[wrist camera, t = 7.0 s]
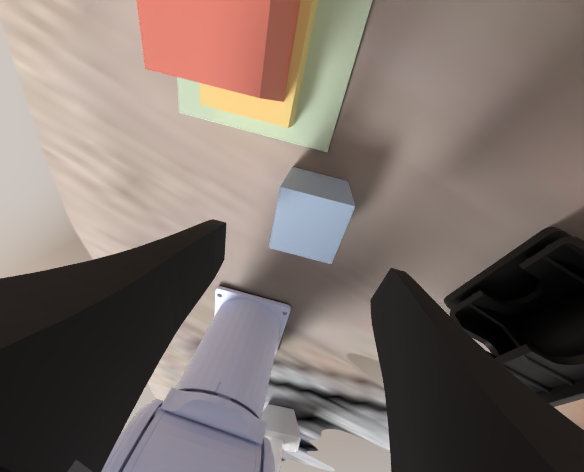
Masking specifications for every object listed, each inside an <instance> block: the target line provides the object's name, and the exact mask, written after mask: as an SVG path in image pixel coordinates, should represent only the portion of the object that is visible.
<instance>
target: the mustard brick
mask: <svg viewBox="0 0 584 472" xmlns="http://www.w3.org/2000/svg"><path fill="white" fill-rule="evenodd" d="M318 1H319V0H301V2H300V8H299V14H298V20H297V26H296V32H295V38H294V44H293V50H292V56H291V62H290V68H289V74H288V80H287V87H286V93H285V99H284V102H281V101H274V100H267V99H261V98H256V97H253V96H249V95H245V94H241V93H237V92H233V91H229V90H225V89H222V88H218V87H214V86H210V85H206V84H202V83H200V105H204V106H207V107H211V108H215V109H219V110H222V111H226V112H230V113H234V114H237V115H241V116H245V117H249V118H252V119H256V120H260V121H264V122H267V123H271V124H275V125H279V126H282V127H286V128H289V127H291V126H293V125H294V120H295V115H296V110H297V105H298V100H299V95H300V90H301V85H302V80H303V75H304V70H305V65H306V60H307V55H308V51H309V46H310V41H311V36H312V31H313V26H314V21H315V16H316V11H317V6H318Z"/></svg>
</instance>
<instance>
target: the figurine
mask: <svg viewBox="0 0 584 472" xmlns="http://www.w3.org/2000/svg"><path fill="white" fill-rule="evenodd" d="M261 420H262V421H265V422H266V428H265V433H264V437H266V438H268V439H269V441H270V443H271V447H272V452H273V455H274V460H275V472H280V465H281V458H282V450H286V451H291V452H295V453H297V451H298V447H299V443H300V439H301V436H300V432H299V428H298V424H297V420H296V416H295V412H294V409H289V408H285V407H280V406H275V405H271V404H268V405H267V407H266V408H265V410H264V411H263V413H262V416H261Z"/></svg>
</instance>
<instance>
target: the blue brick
mask: <svg viewBox="0 0 584 472" xmlns="http://www.w3.org/2000/svg"><path fill="white" fill-rule="evenodd" d="M354 208H355V204H354V200H353V196H352V193H351V189H350V185H349V182H348V181H345V180H342V179H338V178H334V177H330V176H326V175H323V174H319V173H315V172H311V171H307V170H303V169H300V168H296V167H292V169H291V170H290V172H289V174H288V175H287V177H286V179H285V180H284V182H283V183H282V185H281V187H280V192H279V197H278V202H277V207H276V213H275V218H274V223H273V228H272V233H271V239H270V244H269V248H272V249H275V250H279V251H283V252H287V253H290V254H294V255H298V256H302V257H305V258H309V259H313V260H317V261H320V262H324V263H328V264H332V261H333V259H334V257H335V254H336V252H337V249H338V247H339V245H340V242H341V240H342V237H343V235H344V233H345V230H346V228H347V225H348V223H349V220H350V218H351V216H352V213H353V211H354Z"/></svg>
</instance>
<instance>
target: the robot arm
mask: <svg viewBox="0 0 584 472" xmlns="http://www.w3.org/2000/svg"><path fill="white" fill-rule="evenodd" d="M225 238H226V223H225V222H221V221H217V220H214V219H212V220H209V221H206V222H203V223H201V224H198V225H196V226H193V227H191V228H188V229H186V230H183V231H181V232H178V233H176V234H173V235H171V236H168V237H165V238H162V239H160V240H157V241H154V242H151V243H148V244H145V245H142V246H139V247H137V248H133V249H130V250H127V251H124V252H120V253H117V254H113V255H109V256H106V257H102V258H98V259H94V260H91V261H86V262H82V263H77V264H73V265H68V266H64V267H59V268H54V269H50V270H46V271H40V272H35V273H30V274H24V275H19V276H13V277H7V278H1V279H0V472H275V460H274V455H273V452H272V447H271V443H270V441H269V439H268V438H266V437H264V433H265V428H266V422H265V421H262V420H261V416H262V411H263V406H264V402H265V397H266V393H267V388H268V384H269V379H270V375H271V370H272V365H273V361H274V356H275V355H276V352H277V349H278V346H279V343H280V341H281V338H282V335H283V332H284V329H285V326H286V323H287V320H288V317H289V314H290V311H291V307H290V306H289V305H287V304H284V303H280V302H276V301H273V300H269V299H265V298H262V297H258V296H254V295H251V294H247V293H244V292H240V291H236V290H233V289H229V288H225V287H222V286H218V287H217V288H216V290H215V314H214V319H213V320H212V322H211V324H210V326H209V328H208V330H207V331H206V333H205V335H204V337H203V339H202V341H201V342H200V344H199V346H198V348H197V350H196V351H195V353H194V355H193V357H192V359H191V361H190V362H189V364H188V366H187V368H186V370H185V371H184V373H183V375H182V377H181V379H180V381H179V382H178V384H177V386H176V388H175V389H174V388H171V390H170V391H169V393H168V395H167V397H166V398H165V400H164V402H163V401H162V400H159V399H155V400H153V401H152V402H151V403H149V404H147V405H145V406H144V407H142V408H141V409H140V410H139V411H138V412H137V413H136V415H135V416H134V417H133V418H132V420H131V421H130V422H129V424H128V425H127V427H126V428H125V429H124V431H123V432H122V434H121V431H122V430H123V428H124V426H125V423H126V422H127V420H128V418H129V416H130V414H131V412H132V410H133V409H134V407H135V405H136V403H137V401H138V399H139V397H140V395H141V394H142V392H143V389H144V388H145V386H146V384H147V382H148V381H149V379H150V377H151V375H152V374H153V372H154V370H155V368H156V366H157V365H158V363H159V361H160V359H161V357H162V356H163V354H164V352H165V351H166V349H167V347H168V346H169V344H170V342H171V340H172V339H173V337H174V335H175V334H176V332H177V331H178V329H179V327H180V326H181V324H182V323H183V322H184V320H185V319H186V317H187V316H188V315H189V313H190V312H191V310H192V309H193V308H194V306H195V305H196V303H197V302H198V301H199V299H200V298H201V297H202V295H203V294H204V292H205V291H206V289H207V288H208V287H209V285H210V284H211V282H212V281H213V280H214V278H215V276H216V274H217V273H218V271H219V269H220V267H221V265H222V263H223V261H224V255H225ZM371 318H372V326H373V332H374V337H375V342H376V347H377V352H378V357H379V362H380V367H381V371H382V377H383V383H384V389H385V397H386V407H387V416H388V427H389V440H390V453H391V471H392V472H584V430H583V429H581V428H580V427H579V426H577V425H576V424H575V423H573V422H572V421H571V420H569V419H568V418H567V417H566V416H564V415H563V414H562V413H560V412H559V411H558V410H557V409H555V408H554V407H553V406H551V405H550V404H549V403H548V402H546V401H545V400H544V399H543V398H541V397H540V396H539V395H537V394H536V393H535V392H534V391H532V390H531V389H530V388H529V387H527V386H526V385H525V384H524V383H523V382H521V381H520V380H519V379H518V378H517V377H515V376H514V375H513V374H512V373H511V372H510V371H508V370H507V369H506V368H505V367H504V366H503V365H501V364H500V363H499V362H498V361H497V360H496V359H494V358H493V357H492V356H491V355H490V354H489V353H488V352H486V351H485V350H484V349H483V348H482V347H481V346H480V345H479V344H478V343H477V342H476V341H475V340H474V339H472V338H471V337H470V336H469V335H468V334H467V333H466V332H465V331H464V330H463V329H462V328H461V327H460V326H459V325H458V324H457V323H456V322H455V321H454V320H453V319H452V318H451V317H450V316H449V315H448V314H447V313H446V312H445V311H444V310H443V309H442V308H441V307H440V306H439V305H438V304H437V303H436V302H435V301H434V300H433V299H432V298H431V297H430V296H429V295H428V294H427V293H426V292H425V291H424V289H423V288H422V287H421V286H420V285H419V284H418V283H417V282H416V281H415V280H414V279H413V278H411V277H410V276H409V275H408V274H407V273H406V272H404V271H400V270H397V269H393V268H391V269H390V270H389V272H388V273H387V275H386V276H385V278H384V280H383V281H382V283H381V284H380V286H379V287H378V289H377V291H376V292H375V294H374V295H373V297H372V298H371ZM120 434H121V435H120ZM119 436H120V437H119Z"/></svg>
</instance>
